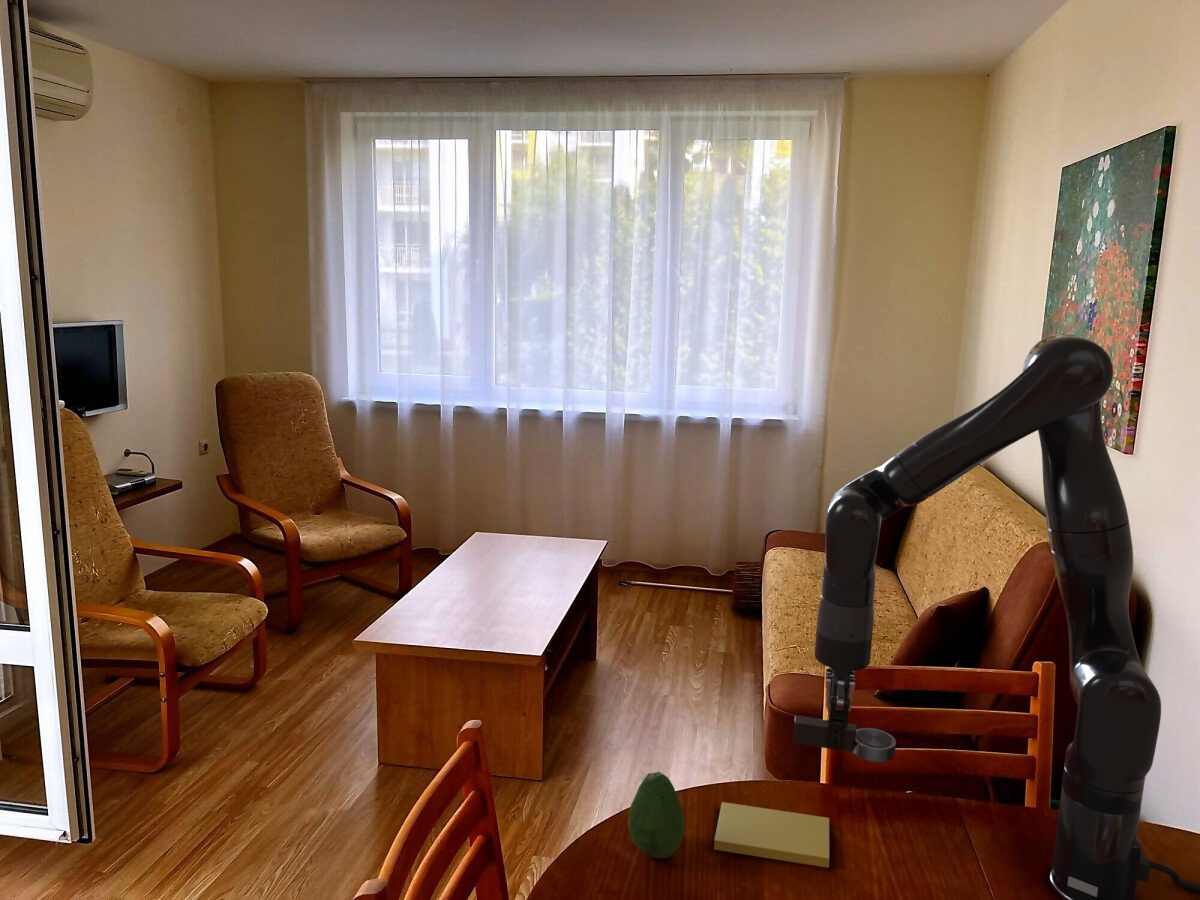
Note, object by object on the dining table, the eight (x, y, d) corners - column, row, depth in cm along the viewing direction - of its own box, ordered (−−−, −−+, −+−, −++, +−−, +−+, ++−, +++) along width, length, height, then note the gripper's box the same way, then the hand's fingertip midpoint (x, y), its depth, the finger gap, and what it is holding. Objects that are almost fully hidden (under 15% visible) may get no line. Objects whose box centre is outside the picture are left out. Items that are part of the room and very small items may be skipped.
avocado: (661, 830, 134) (663, 755, 132) (694, 858, 128) (697, 781, 126) (616, 847, 130) (618, 771, 128) (648, 878, 124) (650, 798, 121)
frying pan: (893, 744, 130) (895, 723, 130) (896, 765, 125) (898, 744, 124) (794, 729, 134) (795, 709, 133) (792, 750, 128) (794, 729, 127)
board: (828, 826, 136) (829, 817, 136) (828, 868, 126) (829, 858, 126) (721, 810, 140) (722, 801, 139) (714, 849, 130) (714, 840, 130)
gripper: (874, 652, 119) (863, 773, 122) (870, 614, 132) (860, 724, 135) (816, 645, 120) (806, 764, 124) (817, 608, 134) (808, 717, 137)
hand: (834, 743), depth 129 cm, fingers closed on frying pan, 2 cm apart
